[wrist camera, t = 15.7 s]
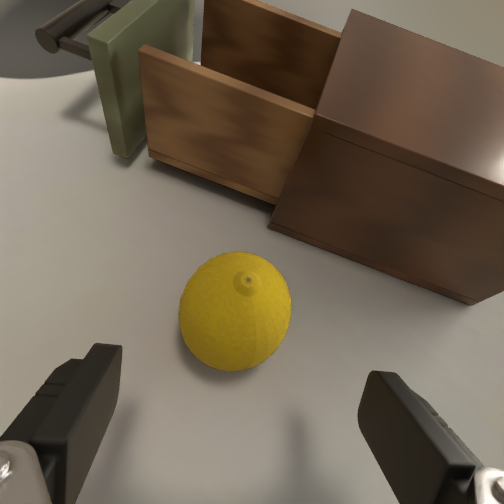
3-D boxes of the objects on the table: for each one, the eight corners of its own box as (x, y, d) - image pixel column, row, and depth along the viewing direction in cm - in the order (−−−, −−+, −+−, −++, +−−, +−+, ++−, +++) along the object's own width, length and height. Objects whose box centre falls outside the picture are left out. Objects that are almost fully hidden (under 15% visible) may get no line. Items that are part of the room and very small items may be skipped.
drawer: (39, 125, 24) (-18, -5, 17) (122, 51, 30) (105, -68, 23) (308, 228, 24) (361, 141, 17) (334, 132, 30) (382, 39, 23)
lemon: (163, 315, 20) (155, 249, 13) (241, 279, 22) (269, 207, 15) (204, 402, 18) (221, 378, 11) (285, 352, 20) (340, 307, 13)
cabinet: (267, 227, 25) (315, 113, 16) (304, 125, 31) (351, 8, 23) (471, 306, 25) (628, 234, 16) (464, 187, 32) (570, 92, 23)
